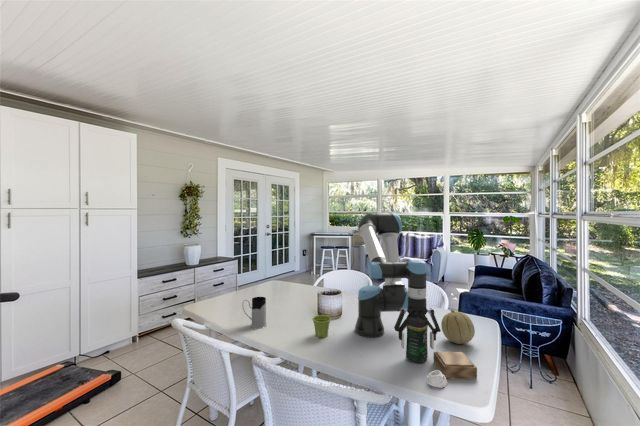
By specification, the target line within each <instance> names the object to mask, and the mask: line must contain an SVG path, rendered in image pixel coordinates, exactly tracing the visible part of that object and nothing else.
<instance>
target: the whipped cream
mask: <svg viewBox="0 0 640 426" xmlns="http://www.w3.org/2000/svg"><path fill="white" fill-rule="evenodd" d="M426 377H427V380H426V382H427V381H428V383H427V385H429V386H431V387H436V388H438V389H443V387H444V388H445V387H447V385H448V380H447V379H446V377H445V376H444V375H443V374H442V373H441V372H440V371H439V370H438V369H435V370H432V371H431V372H429V373H428V375H427V376H426Z"/></svg>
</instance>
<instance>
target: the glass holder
mask: <svg viewBox="0 0 640 426" xmlns="http://www.w3.org/2000/svg"><path fill="white" fill-rule="evenodd" d="M266 301H267V298H266V297H265V296H255V297H252V298H251V303H250V300H248V299H244V300H243V301H242V304H241V306H242V310H243V312H244V314H245V315H246V316H247V317H248V318H249V319H250V320H251V325H250V327H251V328H252V329H255V328H260V329H264V328H266V327H267V325H268V324H267V303H266ZM244 302H248V307H249V309H251V316H250V315H248V313H247V312H246V310H245V307H244ZM263 327H264V328H263Z"/></svg>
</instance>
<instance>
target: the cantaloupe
mask: <svg viewBox="0 0 640 426" xmlns="http://www.w3.org/2000/svg"><path fill="white" fill-rule="evenodd" d="M440 325H441V326H440V327H441V331H442V333H443V335H444V337H445V338H446V339H447V340H448V341H449V342H452V343H455V344H458V345H462V344H466V343H469V342H471V341H472V340H473V339H474V337H475V332H476V331H475V325H474V323H473V321H472V319H471V318H470V316H468V315H467V313H465V312H462V311H455V310H453V309H451V310H450V312H448V313H446V314H445V315H444V316H443V317H442V319H441V324H440Z"/></svg>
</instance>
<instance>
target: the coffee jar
mask: <svg viewBox="0 0 640 426" xmlns="http://www.w3.org/2000/svg"><path fill="white" fill-rule="evenodd" d="M425 317H426V318H427V319H428V317H427V316H426V315H425ZM406 318H407V317H406ZM428 327H429V326H428V324H427V320H424V319H423V318H421V317H418V316H414V317H409V318H407V326H406V346H405V358H406V359H407V361H409V362H412V363H415V364H417V363H418V364H423V363H424V362H425V361H426V360H427V359H428V356H429V355H428Z"/></svg>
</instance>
